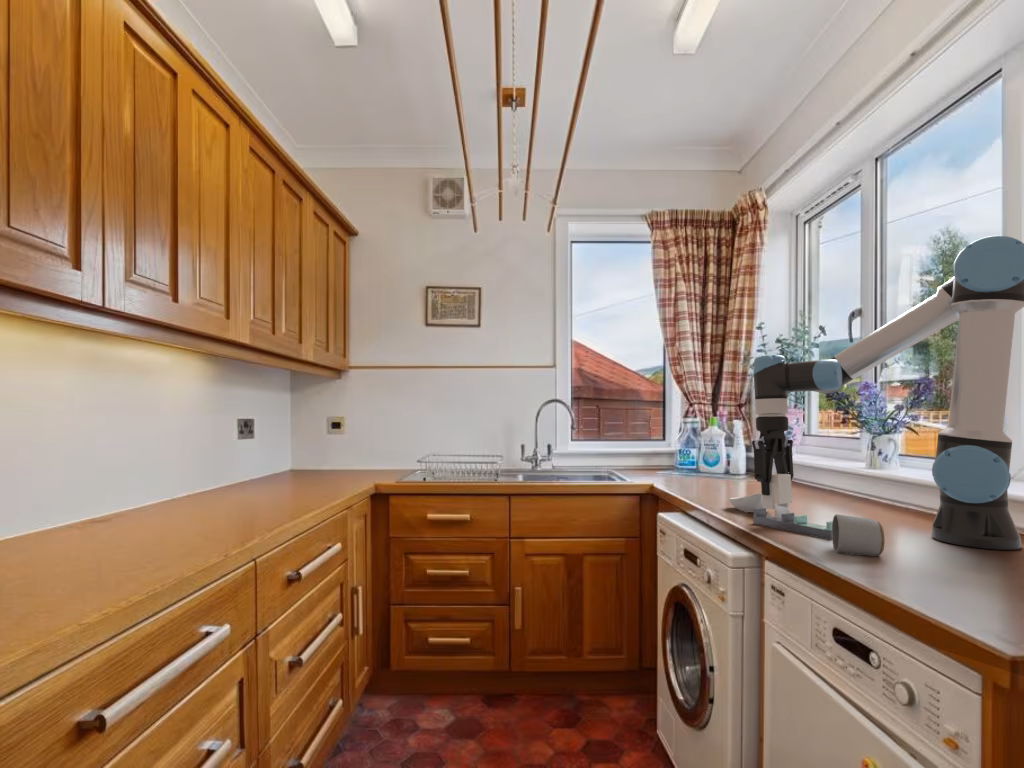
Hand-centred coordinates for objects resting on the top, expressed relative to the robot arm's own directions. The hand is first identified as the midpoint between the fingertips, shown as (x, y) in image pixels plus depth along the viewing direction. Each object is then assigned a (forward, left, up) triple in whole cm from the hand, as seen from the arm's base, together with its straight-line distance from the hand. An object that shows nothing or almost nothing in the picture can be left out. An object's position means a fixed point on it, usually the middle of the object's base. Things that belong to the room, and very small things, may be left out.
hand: (775, 507), depth 135 cm
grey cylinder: (-24, +9, -5) cm, 26 cm away
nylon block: (0, 0, +1) cm, 1 cm away
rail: (-5, 0, -5) cm, 7 cm away
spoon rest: (+13, -12, -5) cm, 18 cm away
